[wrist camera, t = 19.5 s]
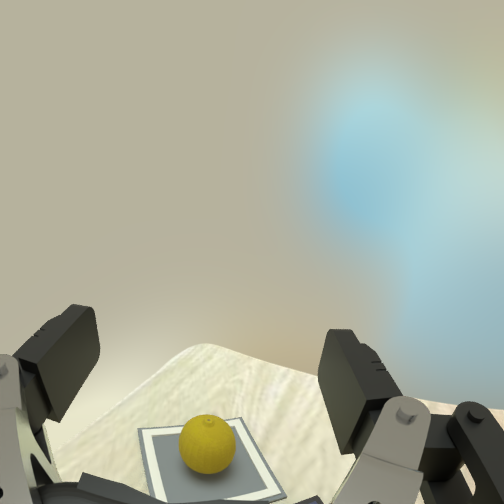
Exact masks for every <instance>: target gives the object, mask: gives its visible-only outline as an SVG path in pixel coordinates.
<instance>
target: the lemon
mask: <svg viewBox="0 0 504 504" xmlns="http://www.w3.org/2000/svg"><path fill="white" fill-rule="evenodd" d="M235 451H236V440H235V436H234V433H233V431H232V429H231V427H230V426H229V425H228V423H227V422H225V421H224V420H223V419H221V418H219V417H217V416H214V415H199V416H196V417H194V418H192V419H190V420H189V421H188V422H187V423H186V424H185V425H184V427H183V428H182V431H181V433H180V436H179V452H180V455H181V457H182V459H183V461H184V462H185V464H186V465H187V466H188V467H190V468H191V469H192V470H194V471H196V472H199V473H203V474H213V473H217V472H220V471H222V470H224V469H225V468H226V467H228V465H229V464H230V463H231V462H232V460H233V457H234V455H235Z"/></svg>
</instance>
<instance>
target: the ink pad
mask: <svg viewBox="0 0 504 504" xmlns="http://www.w3.org/2000/svg"><path fill="white" fill-rule="evenodd" d="M295 504H324V503H323V502H322V501H321V499H320V498H319V497H318V495H316V496H314V497H311V498H309V499H306V500H303V501H301V502H298V503H295Z"/></svg>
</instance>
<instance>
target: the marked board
mask: <svg viewBox="0 0 504 504" xmlns="http://www.w3.org/2000/svg"><path fill="white" fill-rule="evenodd" d="M224 421H225V422H227V423H228V425H229V426H230V427H231V429H232V431H233V433H234V436H235V440H236V451H235V455H234V457H233V460H232V462H231V463H230V464H229V465H228V467H226V468H225V469H224V470H222V471H220V472H217V473H213V474H203V473H199V472H196V471H194V470H192V469H191V468H190V467H188V466H187V465H186V464H185V462H184V461H183V459H182V457H181V455H180V452H179V436H180V433H181V431H182V428H183V427H184V425H179V426H168V427H153V428H138V435H139V441H140V447H141V453H142V459H143V464H144V469H145V474H146V479H147V483H148V488H149V492H150V496H151V497H154V498H156V499H159V500H161V501H164V502H167V503H188V502H200V501H210V500H218V499H225V500H251V501H269V503H271V502H274V501H278V500H281V499H284V498H286V497H287V495H286V494H285V492H284V490H283V489H282V487H281V485H280V484H279V482H278V481H277V479H276V477H275V476H274V474H273V472H272V471H271V469H270V467H269V465H268V464H267V462H266V460H265V459H264V457H263V455H262V453H261V452H260V450H259V448H258V446H257V445H256V443H255V441H254V439H253V437H252V436H251V434H250V432H249V430H248V428H247V426H246V425H245V423H244V421H243V419H242V417H239V418H233V419H227V420H224Z"/></svg>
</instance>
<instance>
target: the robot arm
mask: <svg viewBox="0 0 504 504" xmlns="http://www.w3.org/2000/svg"><path fill="white" fill-rule="evenodd" d="M99 355H100V343H99V337H98V331H97V324H96V318H95V313H94V310H93V308H92V307H88V306H82V305H76V304H72V305H70V306H69V307H68V308H67V309H66V310H65V311H64V312H63V313H62V314H61V315H58V316H56V317H54V318H53V319H50V320H48V321H47V322H46V323H45V324H44V325H43V326H42V327H41V328H40V330H38V331H37V332H36V333H35V334H34V336H31V338H29V339H28V340H27V341H26V342H25V343H24V344H23V345H22V346H21V347H20V348H19V349H18V351H16V352H15V353H14V354H13V355H12V356H10V355H6V354H0V504H269V501H251V500H225V499H218V500H210V501H200V502H188V503H167V502H164V501H161V500H159V499H156V498H154V497H151V496H149V495H147V494H144V493H142V492H140V491H138V490H135V489H133V488H131V487H129V486H127V485H125V484H122V483H118V482H114V481H111V480H107V479H103V478H100V477H97V476H94V475H90V474H87V473H84V472H83V473H82V475H81V478H80V480H79V482H62V480H61V478H60V476H59V474H58V471H57V468H56V465H55V461H54V458H53V454H52V451H51V447H50V443H49V439H48V436H47V431H46V428H45V426H44V424H43V423H44V422H45V420H46V418H47V419H51V420H53V421H56V422H58V423H60V421H61V420H62V418H63V416H64V415H65V413H66V411H67V410H68V408H69V406H70V404H71V403H72V401H73V400H74V398H75V396H76V395H77V393H78V391H79V390H80V388H81V387H82V385H83V383H84V382H85V380H86V379H87V377H88V375H89V374H90V372H91V371H92V369H93V368H94V366H95V365H96V363H97V361H98V358H99ZM318 382H319V386H320V389H321V392H322V395H323V398H324V402H325V405H326V408H327V411H328V414H329V417H330V421H331V424H332V427H333V430H334V433H335V437H336V440H337V443H338V446H339V450H340V453H341V455H344V454H352V453H354V455H355V458H356V460H355V462H354V464H353V465H352V467H351V469H350V471H349V472H348V474H347V476H346V477H345V479H344V481H343V482H342V484H341V486H340V487H339V489H338V491H337V492H336V494H335V495H334V497H333V498H332V500H331V502H330V503H329V504H415V501H416V498H417V495H418V492H419V489H420V492H421V495H422V497H423V500H424V503H425V504H504V431H503V429H502V428H501V426H500V425H499V423H498V422H497V421H496V419H495V418H494V416H493V415H492V414H491V412H490V411H489V410H488V409H487V408H486V407H484V406H483V405H481V404H479V403H476V402H470V401H469V402H463V403H461V404H459V405H458V406H457V407H456V409H455V411H454V412H453V414H452V415H438V414H430V411H429V410H428V408H427V407H426V406H425V405H424V404H423V403H422V402H420V401H419V400H417V399H414V398H411V397H406V396H403V395H402V393H401V391H400V390H399V388H398V387H397V385H396V383H395V382H394V380H393V379H392V377H391V375H390V374H389V372H388V371H386V368H385V366H384V364H383V363H381V360H380V358H379V356H378V355H377V353H376V352H375V351H374V350H373V349H371V348H370V347H369V346H367V345H366V344H360V342H359V341H358V339H357V338H356V336H355V334H354V333H353V331H352V330H350V329H349V330H348V329H330V330H329V331H328V332H327V335H326V339H325V344H324V348H323V352H322V356H321V360H320V364H319V368H318ZM464 464H466V466H467V468H468V470H469V472H470V474H471V476H472V478H473V480H474V482H475V486H476V489H475V493H474V496H473V495H472V493H471V491H470V489H469V487H468V485H467V483H466V481H465V479H464V477H463V474H462V472H461V470H460V469H461V467H462V466H463V465H464Z"/></svg>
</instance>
